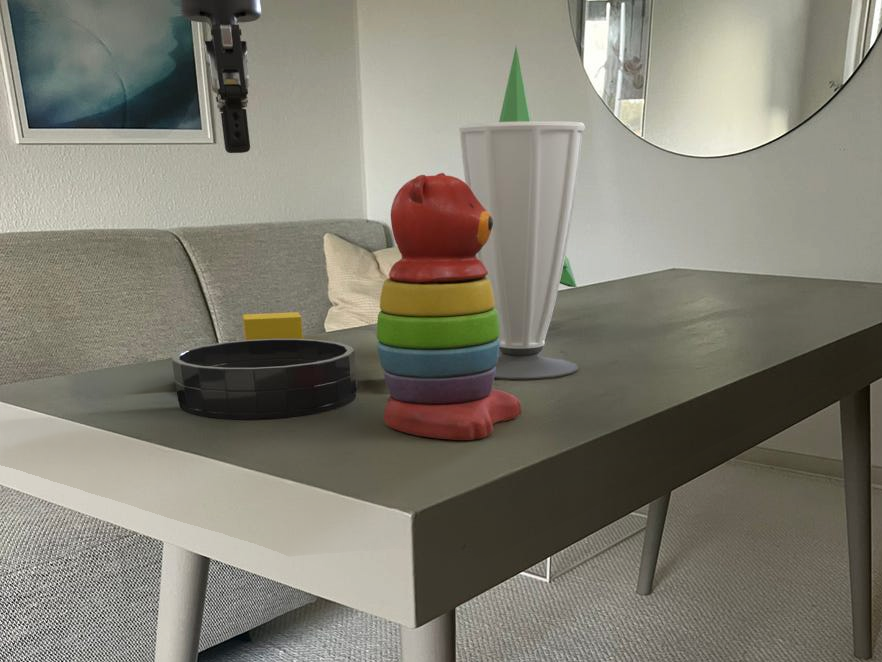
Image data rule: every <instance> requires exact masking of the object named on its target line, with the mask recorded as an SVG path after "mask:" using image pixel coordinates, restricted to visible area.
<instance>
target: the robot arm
mask: <svg viewBox="0 0 882 662" xmlns="http://www.w3.org/2000/svg"><path fill="white" fill-rule="evenodd" d="M179 8H180V13H181V15H182V17H183V18H184V19H186V20H187V21H189V22H196V23H206V24H208V26H209V28H210V35H211V39H210V40H204V41H203V43H204V44H203V45H204V55H205V62H206V65H207V66H208V68H209V75H210V83H211V89H212V92H213V93H215V94H216V96H215V101H216V106H217V109H218V112H219V113H220V119H221V126H222V134H223V135H222V137H223V143H224V150H225V151H226V152H227V153H228V154H243V153H248V152H250V150H251V140H250V133H249V124H248V122H249V121H248V114H247V109H246V108H248V104H249V97H248V95H249V89H248V88H249V87H250V79H249V69H248V62H249V53H248V52H249V51H248V44H247V40H241V36H242V29H241V28H240V25H239V24H238V23H250V22H255V21H258V20H259V19H260V18H261V16H262V4H261V0H179Z"/></svg>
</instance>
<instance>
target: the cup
mask: <svg viewBox="0 0 882 662" xmlns="http://www.w3.org/2000/svg"><path fill="white" fill-rule="evenodd" d="M585 130H586V125H585V124H584V122H580V121H579V122H578V121H554V120H553V121H549V120H548V121H547V120H546V121H545V120H544V121H542V120H538V121H537V120H535V121H533V120H531V121H523V122H499V121H490V122H489V121H486V122H469V123H462V124H461V125H460V126H459V139H460V148H461V155H462V156H461V157H462V167H463V175H464V183H466V184H467V185H468V186H469V188H470V189H471V191H472V192H473V194H474V195H475V197H476V198H477V200H478V201H479V202H480V204H481V205H482V206H483V207H484V208H485V209H486V210H487V212H488V213H489V214H490V215H491V216H492V219H493V226H492V230H491V233H490V236H489V239H488V241H487V242H486V244H485V245H484V246H483V247H482V249H481V250H480V251H479V252H478V253H477V254H476V257H477V259H478V260H480V261H481V262H482V263H483V265H484V266H485V267H486V269H487V271H488V274H487V275H486V276H485V277H486V278H488V279H489V281H490V284H491V287H492V291H493V296H494V301H495V306H494V308H495V309H496V310H497V313H498V319H499V326H500V335H499V337H498V338H499V341H500V346H499V353H501V355H500V356H499V355H498V361H497V364H496V366H495V368H496V371H495V377H494V380H501V381H502V380H504V381H536V380H537V381H538V380H548V379H556V378H557V379H558V378H561V377H566V376H570V375H572V374H574V373H576V372H577V371H579V367H578V365H577V363H574V362H572V361H569V360H567V359H560V358H555V357H546V356H543V355H541V354H540V352H542V350H543V348H544V346H545V340H546V338H547V335H548V330H549V327H550V324H551V320H552V317H553V313H554V310H555V307H556V302H557V301H556V300H557V296H558V292H559V287H560V279H561V274H562V270H563V265H564V260H565V256H566V255H567V248H568V241H569V237H570V231H571V224H572V218H573V213H574V206H575V199H576V192H577V185H578V184H577V183H578V175H579V170H580V169H579V168H580V160H581V152H582V150H581V149H582V141H583V132H584V131H585Z"/></svg>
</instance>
